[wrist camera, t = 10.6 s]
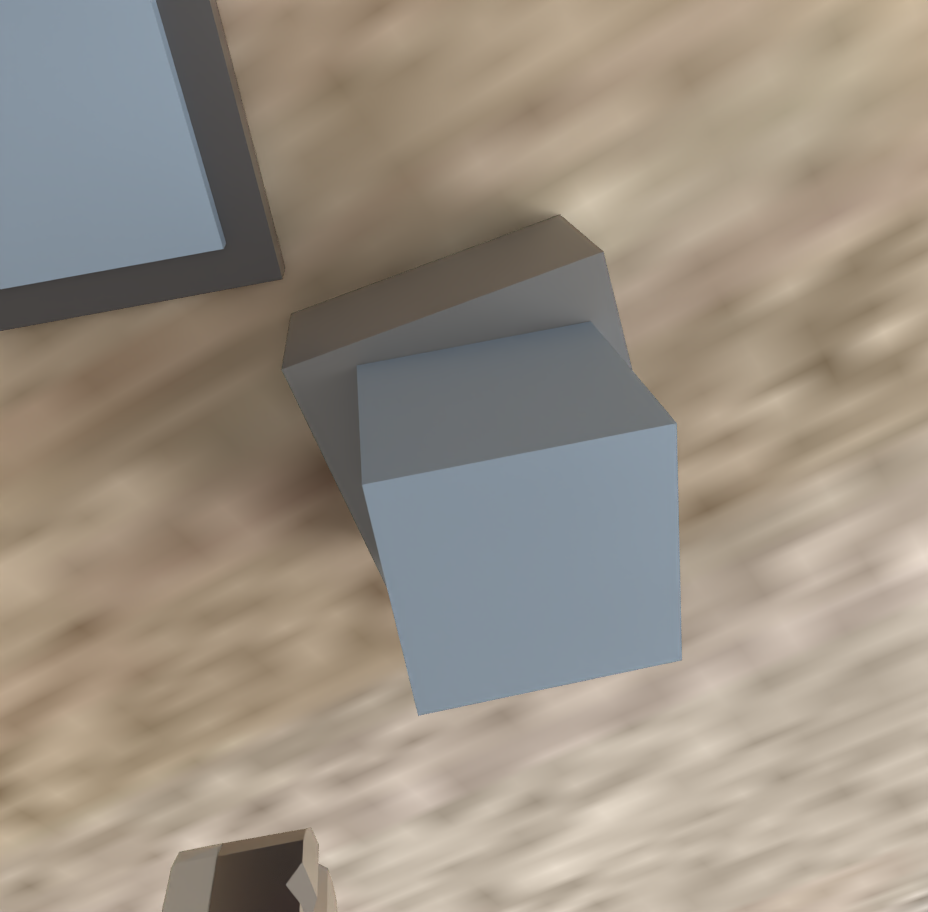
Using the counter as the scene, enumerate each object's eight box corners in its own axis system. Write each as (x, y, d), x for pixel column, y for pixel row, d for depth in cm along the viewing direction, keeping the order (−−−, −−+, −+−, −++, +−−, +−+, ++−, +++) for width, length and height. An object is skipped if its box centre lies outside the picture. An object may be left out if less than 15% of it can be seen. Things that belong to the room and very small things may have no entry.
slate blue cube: (590, 321, 17) (677, 423, 13) (605, 517, 19) (681, 660, 15) (356, 365, 17) (361, 484, 12) (400, 558, 19) (418, 715, 15)
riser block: (557, 212, 20) (603, 251, 16) (619, 446, 23) (669, 521, 20) (291, 310, 20) (281, 369, 17) (391, 528, 24) (400, 616, 20)
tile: (179, -141, 16) (164, -156, 14) (284, 267, 19) (281, 285, 18) (-248, -74, 15) (-303, -83, 14) (-54, 329, 19) (-84, 352, 18)
